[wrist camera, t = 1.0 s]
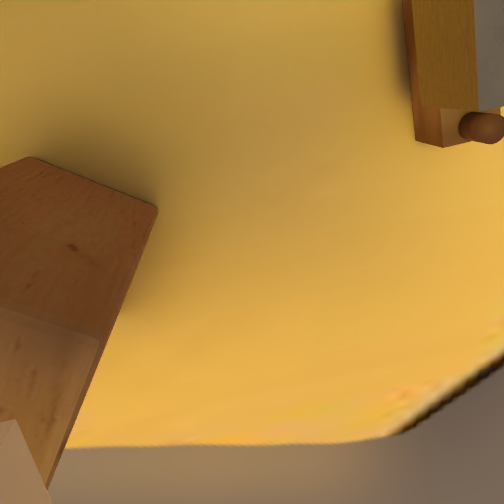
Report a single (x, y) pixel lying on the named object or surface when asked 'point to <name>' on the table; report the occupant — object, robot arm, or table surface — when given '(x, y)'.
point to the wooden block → (59, 294)
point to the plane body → (446, 120)
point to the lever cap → (460, 53)
